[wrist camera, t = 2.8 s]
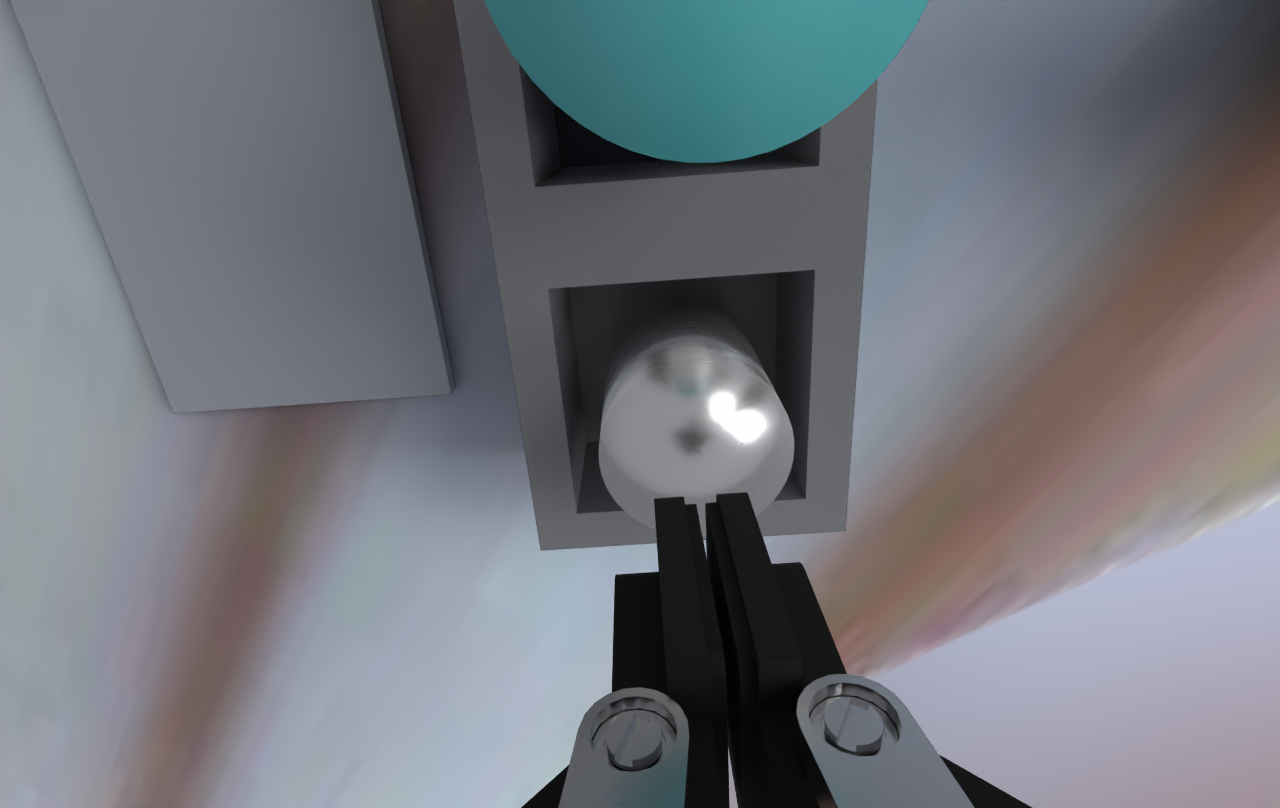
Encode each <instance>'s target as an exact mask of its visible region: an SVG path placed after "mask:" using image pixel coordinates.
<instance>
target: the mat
mask: <svg viewBox="0 0 1280 808" xmlns="http://www.w3.org/2000/svg"><path fill="white" fill-rule="evenodd" d="M10 2H11V5H12V7H13V10H14V12H15V15H16V17H17V20H18V22H19V25H20V27H21V30H22V33H23V35H24V38H25V40H26V43H27V45H28V48H29V50H30V53H31V55H32V58H33V60H34V63H35V65H36V68H37V70H38V73H39V75H40V78H41V80H42V83H43V85H44V88H45V91H46V93H47V96H48V98H49V101H50V103H51V106H52V108H53V111H54V113H55V116H56V118H57V121H58V123H59V126H60V128H61V131H62V133H63V136H64V138H65V141H66V143H67V146H68V148H69V151H70V154H71V156H72V159H73V161H74V164H75V166H76V169H77V171H78V174H79V176H80V179H81V181H82V184H83V186H84V189H85V191H86V194H87V196H88V199H89V201H90V204H91V206H92V209H93V212H94V214H95V217H96V219H97V222H98V224H99V227H100V229H101V232H102V234H103V237H104V239H105V242H106V244H107V247H108V249H109V252H110V254H111V257H112V259H113V262H114V264H115V267H116V270H117V272H118V275H119V277H120V280H121V282H122V285H123V287H124V290H125V292H126V295H127V297H128V300H129V302H130V305H131V307H132V310H133V312H134V315H135V317H136V320H137V322H138V325H139V328H140V330H141V333H142V335H143V338H144V340H145V343H146V345H147V348H148V350H149V353H150V355H151V358H152V360H153V363H154V365H155V368H156V370H157V373H158V375H159V378H160V380H161V383H162V385H163V388H164V391H165V393H166V396H167V398H168V401H169V403H170V406H171V408H172V411H173V413H183V412H198V411H213V410H227V409H242V408H257V407H271V406H286V405H301V404H315V403H330V402H345V401H360V400H374V399H389V398H404V397H418V396H433V395H448V394H452V392H453V391H454V389H455V384H454V379H453V374H452V369H451V364H450V359H449V354H448V349H447V344H446V339H445V334H444V328H443V323H442V318H441V313H440V308H439V303H438V298H437V293H436V288H435V283H434V278H433V273H432V268H431V263H430V258H429V253H428V248H427V243H426V238H425V233H424V228H423V223H422V218H421V213H420V208H419V203H418V198H417V193H416V188H415V183H414V178H413V173H412V168H411V163H410V158H409V153H408V148H407V143H406V138H405V133H404V128H403V123H402V118H401V113H400V108H399V103H398V98H397V93H396V88H395V83H394V78H393V73H392V68H391V63H390V58H389V53H388V48H387V43H386V38H385V33H384V28H383V23H382V18H381V13H380V8H379V3H378V0H10Z"/></svg>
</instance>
